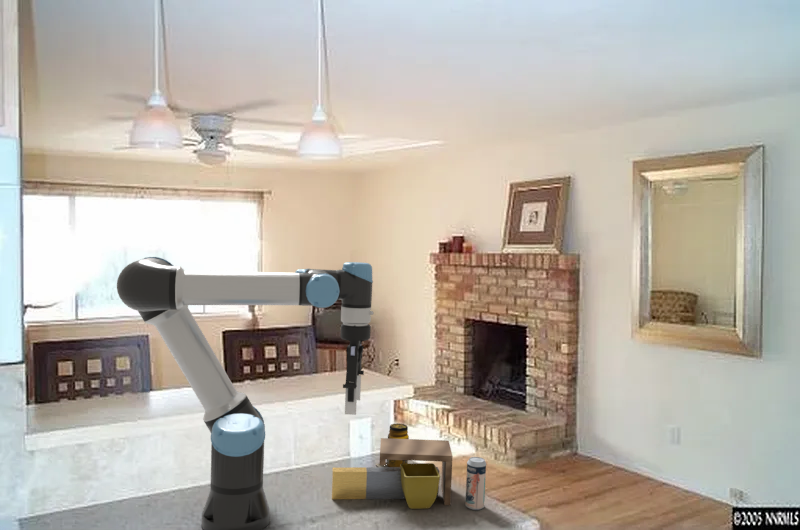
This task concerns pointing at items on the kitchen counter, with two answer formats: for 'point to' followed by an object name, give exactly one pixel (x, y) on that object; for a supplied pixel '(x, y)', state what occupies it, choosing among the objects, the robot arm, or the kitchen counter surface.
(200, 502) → the kitchen counter surface
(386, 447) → the small brown wooden table
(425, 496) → the flower pot
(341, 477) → the two-tone wooden bar
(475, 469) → the beer can
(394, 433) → the condiment
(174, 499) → the kitchen counter surface
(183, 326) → the robot arm
